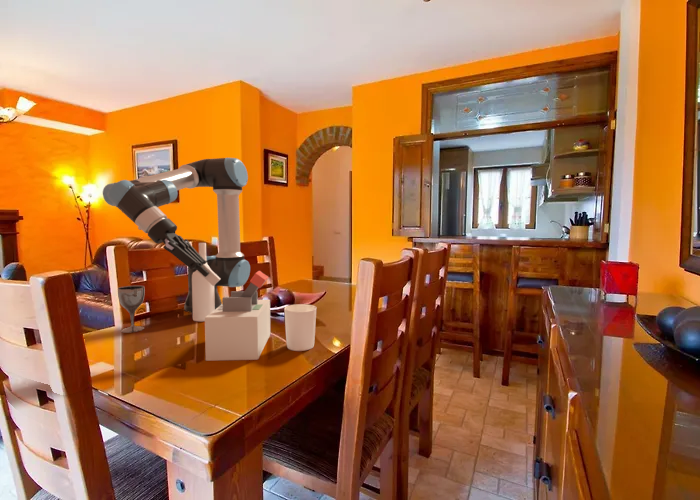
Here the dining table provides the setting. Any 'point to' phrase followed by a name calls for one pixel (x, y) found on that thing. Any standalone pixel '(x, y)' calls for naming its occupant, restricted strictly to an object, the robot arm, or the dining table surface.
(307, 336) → the candle holder
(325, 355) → the dining table surface
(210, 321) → the box
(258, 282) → the toggle
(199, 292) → the bottle
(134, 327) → the wine glass
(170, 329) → the dining table surface
